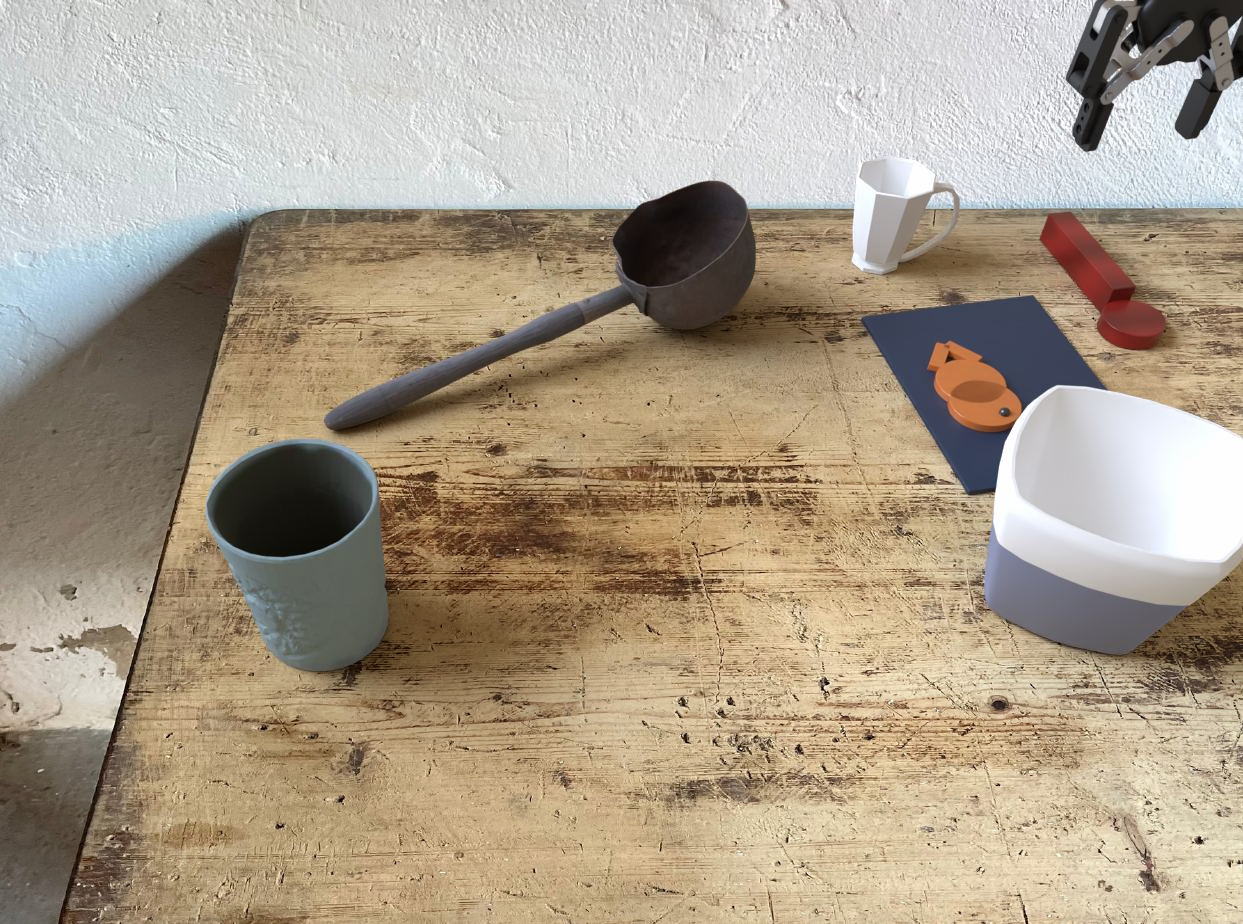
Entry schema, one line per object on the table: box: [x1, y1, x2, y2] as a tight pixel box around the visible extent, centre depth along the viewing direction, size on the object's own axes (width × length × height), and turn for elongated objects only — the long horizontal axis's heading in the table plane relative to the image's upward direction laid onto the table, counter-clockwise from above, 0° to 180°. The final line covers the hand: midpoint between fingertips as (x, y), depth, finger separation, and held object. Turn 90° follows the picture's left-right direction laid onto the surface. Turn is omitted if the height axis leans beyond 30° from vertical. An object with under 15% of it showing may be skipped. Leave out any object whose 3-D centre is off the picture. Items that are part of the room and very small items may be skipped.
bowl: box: [983, 385, 1243, 655], centre depth 74 cm, size 15×15×11 cm
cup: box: [851, 155, 961, 276], centre depth 99 cm, size 7×10×8 cm
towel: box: [860, 294, 1109, 496], centre depth 91 cm, size 16×22×1 cm
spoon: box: [1039, 210, 1167, 351], centre depth 98 cm, size 17×5×3 cm, turn 12°
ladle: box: [323, 180, 757, 431], centre depth 92 cm, size 12×38×10 cm, turn 119°
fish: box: [927, 341, 1022, 432], centre depth 90 cm, size 11×6×1 cm, turn 12°
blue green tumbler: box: [205, 438, 390, 672], centre depth 71 cm, size 10×10×12 cm
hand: (1134, 140), depth 86 cm, fingers open, 8 cm apart
